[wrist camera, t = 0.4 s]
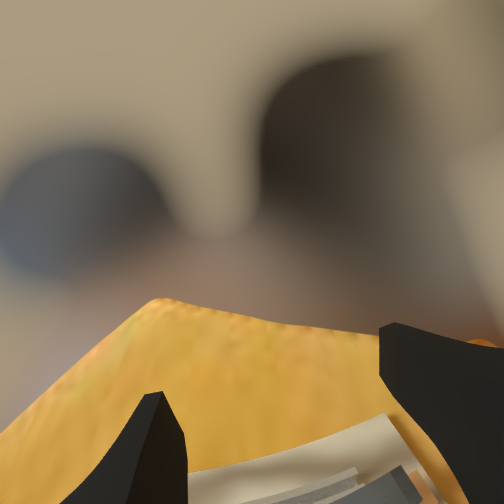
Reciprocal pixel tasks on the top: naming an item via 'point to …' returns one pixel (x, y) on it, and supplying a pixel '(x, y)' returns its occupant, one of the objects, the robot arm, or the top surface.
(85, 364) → the top surface
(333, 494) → the heat sink
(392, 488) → the retention strap
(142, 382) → the top surface
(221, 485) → the board
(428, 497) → the lugs
